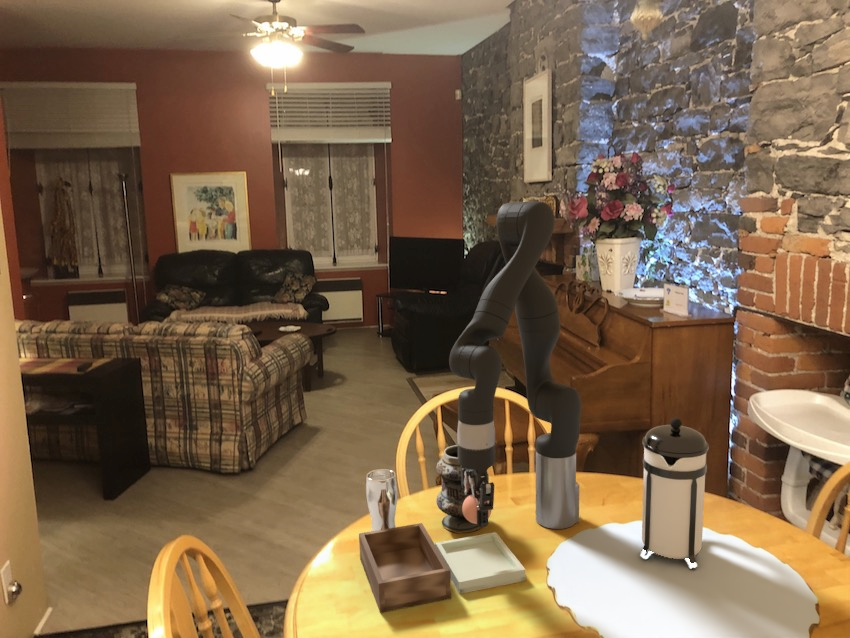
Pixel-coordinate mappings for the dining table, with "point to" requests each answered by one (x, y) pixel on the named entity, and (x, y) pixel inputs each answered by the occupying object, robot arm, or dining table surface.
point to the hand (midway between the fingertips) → (477, 518)
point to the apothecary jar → (452, 493)
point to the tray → (480, 562)
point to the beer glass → (382, 498)
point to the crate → (404, 567)
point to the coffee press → (673, 490)
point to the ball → (471, 509)
